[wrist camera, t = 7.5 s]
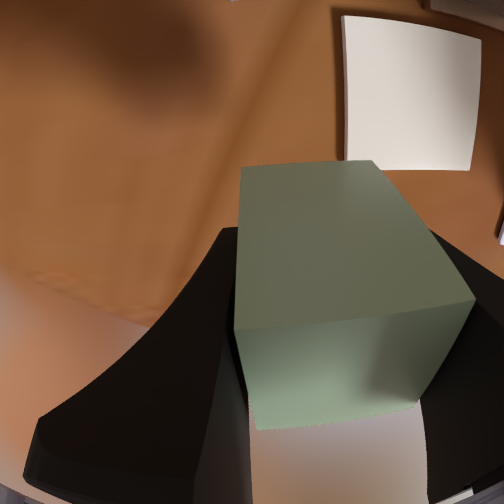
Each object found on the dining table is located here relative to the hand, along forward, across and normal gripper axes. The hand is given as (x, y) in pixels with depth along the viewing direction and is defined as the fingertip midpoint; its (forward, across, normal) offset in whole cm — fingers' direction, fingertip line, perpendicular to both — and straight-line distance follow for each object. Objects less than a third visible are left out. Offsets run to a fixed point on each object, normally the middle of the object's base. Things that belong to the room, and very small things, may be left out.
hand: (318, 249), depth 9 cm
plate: (+8, -7, -3) cm, 11 cm away
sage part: (+2, 0, 0) cm, 2 cm away
